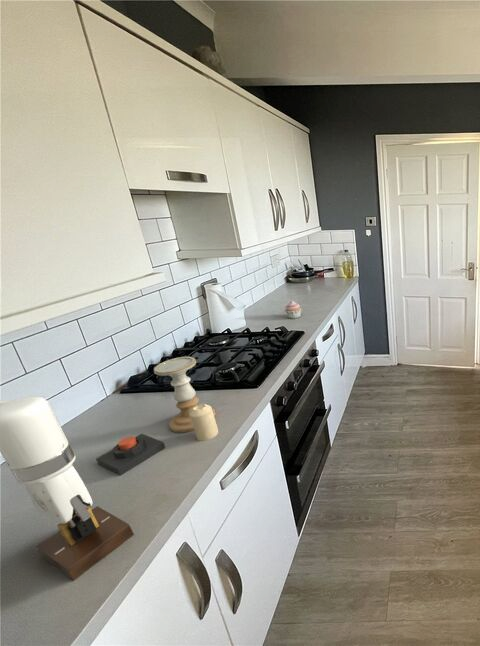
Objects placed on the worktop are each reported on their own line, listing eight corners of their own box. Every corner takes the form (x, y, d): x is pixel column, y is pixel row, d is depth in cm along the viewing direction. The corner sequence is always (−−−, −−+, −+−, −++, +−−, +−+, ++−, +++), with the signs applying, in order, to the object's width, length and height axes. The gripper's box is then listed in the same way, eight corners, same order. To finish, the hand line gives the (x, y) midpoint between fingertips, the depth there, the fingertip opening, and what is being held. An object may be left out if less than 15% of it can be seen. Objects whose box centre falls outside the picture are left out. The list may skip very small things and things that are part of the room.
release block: (120, 476, 89) (115, 463, 87) (98, 465, 93) (93, 453, 91) (165, 448, 98) (161, 436, 97) (144, 439, 102) (139, 428, 100)
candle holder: (182, 411, 115) (163, 357, 107) (222, 407, 116) (206, 353, 109) (161, 435, 103) (139, 376, 96) (206, 430, 105) (187, 371, 98)
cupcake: (286, 315, 202) (283, 299, 199) (303, 313, 205) (300, 297, 202) (285, 321, 194) (282, 304, 191) (302, 318, 197) (300, 302, 193)
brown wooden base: (73, 580, 65) (66, 569, 64) (42, 556, 69) (35, 545, 68) (134, 534, 73) (129, 523, 72) (102, 515, 78) (97, 505, 77)
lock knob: (71, 546, 68) (60, 526, 66) (67, 543, 68) (56, 524, 66) (99, 526, 72) (89, 507, 70) (95, 523, 72) (85, 505, 70)
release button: (124, 451, 92) (122, 446, 91) (117, 448, 93) (114, 443, 93) (140, 443, 95) (137, 438, 94) (132, 440, 96) (130, 434, 96)
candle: (209, 427, 106) (200, 399, 103) (222, 430, 105) (214, 402, 101) (192, 438, 102) (183, 410, 98) (206, 442, 100) (197, 413, 96)
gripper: (-7, 465, 63) (37, 537, 70) (39, 489, 57) (82, 565, 64) (48, 439, 69) (83, 507, 76) (94, 458, 64) (128, 530, 70)
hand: (82, 533), depth 70 cm, fingers closed, pressing on lock knob
